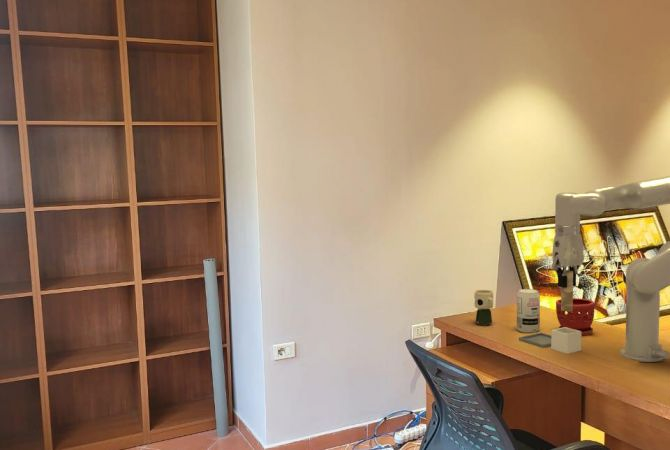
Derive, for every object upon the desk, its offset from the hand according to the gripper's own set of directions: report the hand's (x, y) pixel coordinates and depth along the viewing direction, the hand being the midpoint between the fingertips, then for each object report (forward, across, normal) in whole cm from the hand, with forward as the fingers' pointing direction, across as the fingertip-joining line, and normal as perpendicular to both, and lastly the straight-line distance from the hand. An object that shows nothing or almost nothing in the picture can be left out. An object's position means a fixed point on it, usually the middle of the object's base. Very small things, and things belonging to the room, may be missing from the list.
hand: (567, 285), depth 207 cm
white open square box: (+22, 0, 0) cm, 22 cm away
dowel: (+8, 0, 0) cm, 8 cm away
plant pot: (+22, +20, +13) cm, 33 cm away
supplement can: (+22, +9, +25) cm, 35 cm away
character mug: (+22, +2, +41) cm, 47 cm away
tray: (+22, +1, +11) cm, 25 cm away
